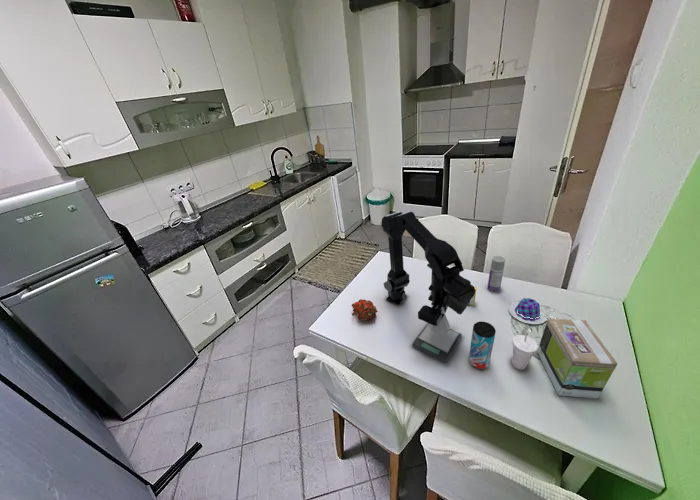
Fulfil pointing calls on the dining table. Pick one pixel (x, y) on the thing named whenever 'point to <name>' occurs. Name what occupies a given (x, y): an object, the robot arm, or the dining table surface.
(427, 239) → the robot arm
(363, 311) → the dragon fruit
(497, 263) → the container
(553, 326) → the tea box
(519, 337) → the smoothie
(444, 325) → the flask
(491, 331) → the beverage can
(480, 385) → the dining table surface
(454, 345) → the scale
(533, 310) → the pudding
